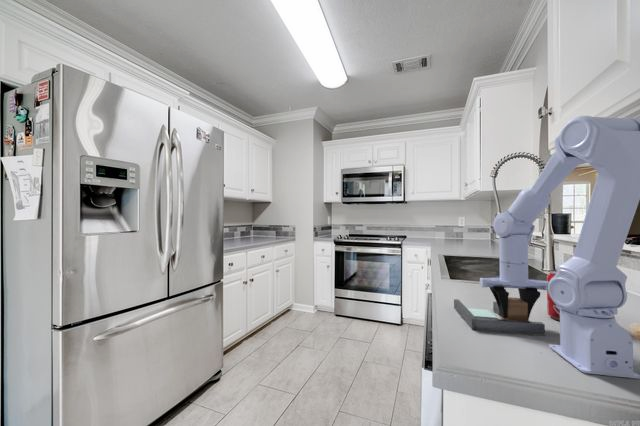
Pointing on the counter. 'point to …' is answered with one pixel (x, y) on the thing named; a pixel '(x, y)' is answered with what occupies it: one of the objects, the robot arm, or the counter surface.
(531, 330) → the grey flat frame
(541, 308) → the counter surface
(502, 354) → the counter surface
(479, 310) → the pad
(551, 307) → the beverage can
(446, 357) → the counter surface
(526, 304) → the walnut block
